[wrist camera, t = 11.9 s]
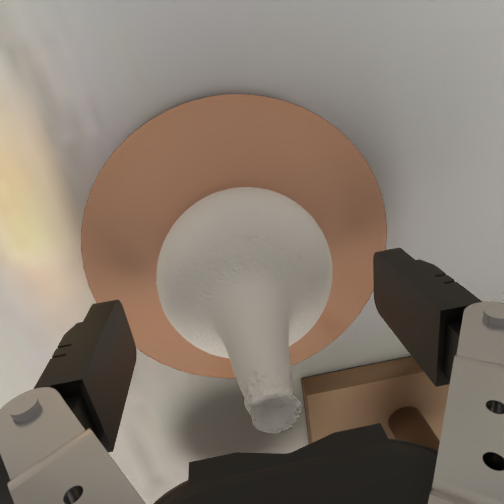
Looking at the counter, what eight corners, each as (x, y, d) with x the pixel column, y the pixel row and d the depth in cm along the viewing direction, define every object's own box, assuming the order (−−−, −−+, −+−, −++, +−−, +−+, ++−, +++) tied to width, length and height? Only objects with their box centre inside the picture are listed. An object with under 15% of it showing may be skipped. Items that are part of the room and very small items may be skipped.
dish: (369, 69, 14) (385, 67, 13) (375, 332, 19) (387, 349, 18) (45, 123, 14) (29, 126, 12) (136, 379, 19) (131, 400, 17)
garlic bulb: (189, 156, 14) (132, 222, 6) (347, 208, 15) (458, 318, 7) (150, 302, 16) (74, 478, 9) (290, 339, 17) (331, 528, 9)
